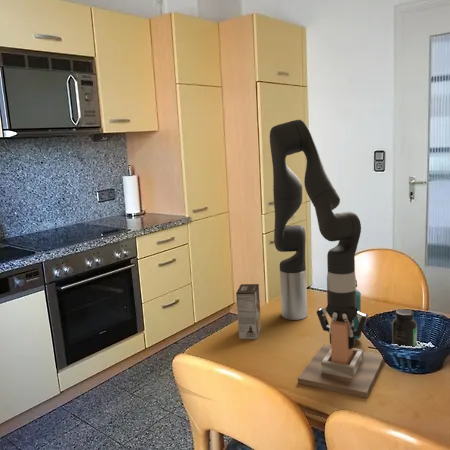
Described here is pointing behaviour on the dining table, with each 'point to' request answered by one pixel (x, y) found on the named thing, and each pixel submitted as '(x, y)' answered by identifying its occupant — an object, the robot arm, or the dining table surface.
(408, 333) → the supplement bottle
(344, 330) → the keyed peg
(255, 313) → the coffee box
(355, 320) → the beverage bottle
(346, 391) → the keyed holder
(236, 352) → the dining table surface
